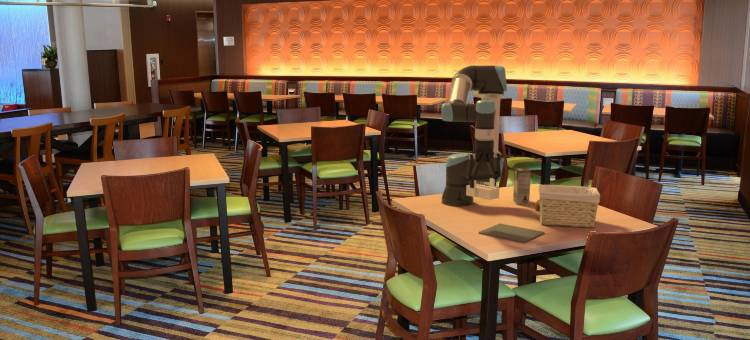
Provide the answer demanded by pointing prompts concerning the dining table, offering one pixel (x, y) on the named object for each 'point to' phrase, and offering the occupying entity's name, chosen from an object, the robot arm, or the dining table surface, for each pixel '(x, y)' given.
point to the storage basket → (568, 205)
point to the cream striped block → (484, 192)
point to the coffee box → (521, 186)
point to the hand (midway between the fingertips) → (482, 195)
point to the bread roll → (537, 205)
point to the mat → (512, 233)
